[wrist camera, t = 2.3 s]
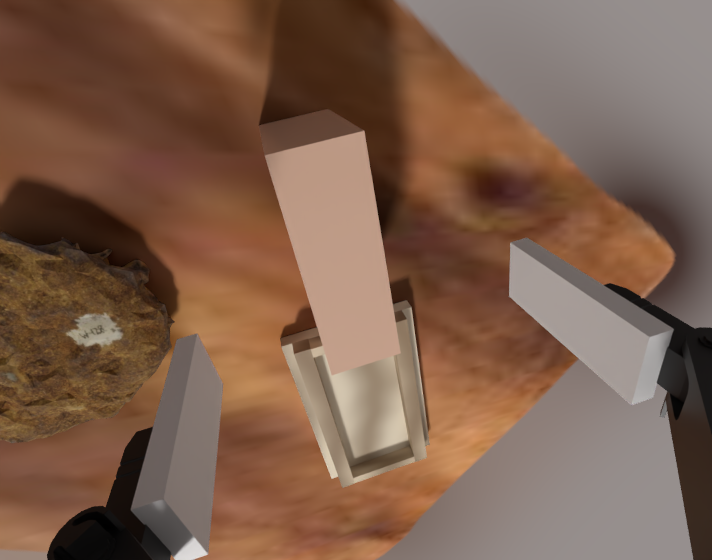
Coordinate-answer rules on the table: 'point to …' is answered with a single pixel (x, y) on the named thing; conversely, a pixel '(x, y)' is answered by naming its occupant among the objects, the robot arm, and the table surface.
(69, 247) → the decorative rock
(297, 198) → the clay block
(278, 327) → the table surface
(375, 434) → the cream rectangular tray
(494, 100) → the table surface
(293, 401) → the table surface
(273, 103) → the table surface
